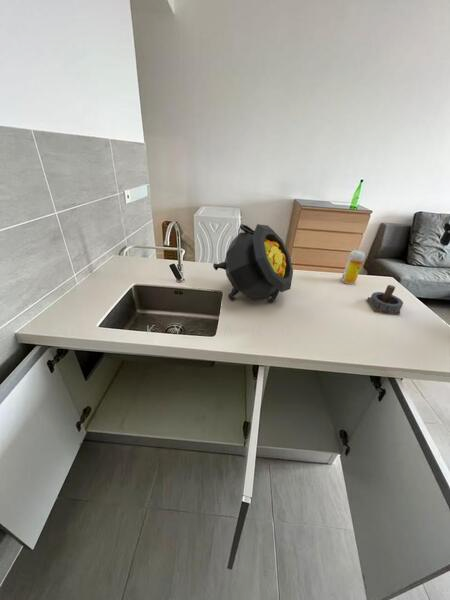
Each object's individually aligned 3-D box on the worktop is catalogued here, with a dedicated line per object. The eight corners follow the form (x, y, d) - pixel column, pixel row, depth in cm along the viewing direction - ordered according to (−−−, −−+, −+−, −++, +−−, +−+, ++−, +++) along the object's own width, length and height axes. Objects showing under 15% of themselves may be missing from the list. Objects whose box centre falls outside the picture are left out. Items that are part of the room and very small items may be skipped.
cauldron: (247, 263, 118) (293, 240, 104) (251, 316, 106) (304, 299, 92) (206, 235, 99) (255, 203, 84) (206, 297, 87) (264, 271, 72)
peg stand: (389, 302, 102) (398, 282, 97) (398, 314, 94) (409, 293, 89) (366, 300, 103) (375, 280, 98) (374, 311, 95) (383, 290, 90)
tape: (393, 299, 101) (396, 293, 100) (405, 313, 92) (408, 308, 91) (366, 295, 103) (368, 290, 101) (375, 309, 94) (377, 304, 92)
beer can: (357, 284, 114) (368, 254, 107) (344, 284, 114) (354, 254, 106) (351, 279, 120) (361, 249, 112) (339, 278, 119) (348, 249, 112)
